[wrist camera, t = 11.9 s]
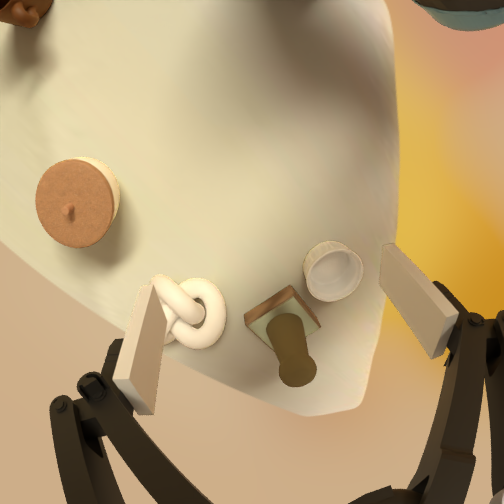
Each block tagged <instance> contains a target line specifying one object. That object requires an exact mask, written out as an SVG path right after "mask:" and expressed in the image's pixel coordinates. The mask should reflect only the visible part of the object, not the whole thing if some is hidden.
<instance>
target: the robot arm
mask: <svg viewBox="0 0 504 504" xmlns="http://www.w3.org/2000/svg"><path fill="white" fill-rule="evenodd" d="M412 1H413V2H414V3H416V4H417V5H418V6H420V7H422V8H423V9H424V10H425V11H427V12H428V13H429V14H430V15H431V16H432V17H433V18H434V19H435V20H436V21H437V22H438V23H440V24H441V25H444V26H447V27H448V28H451V29H454V30H460V31H479V30H486V29H490V28H493V27H496V26H499V25H501V24H503V23H504V0H412ZM379 285H380V286H381V288H382V289H383V290H384V292H385V293H386V295H387V296H388V297H389V299H390V300H391V301H392V303H393V304H394V306H395V307H396V308H397V310H398V311H399V313H400V314H401V315H402V317H403V318H404V320H405V321H406V323H407V324H408V326H409V327H410V328H411V330H412V331H413V333H414V334H415V336H416V337H417V339H418V340H419V342H420V343H421V345H422V346H423V348H424V349H425V351H426V353H427V354H428V356H429V357H430V359H434V358H436V357H439V356H441V355H443V354H444V351H445V349H446V346H447V348H448V349H449V350H450V353H449V355H448V358H447V360H446V362H445V364H444V366H446V371H445V376H444V381H443V385H442V390H441V394H440V398H439V402H438V407H437V410H436V414H435V418H434V421H433V424H432V428H431V431H430V434H429V437H428V441H427V444H426V447H425V450H424V453H423V455H422V458H421V461H420V464H419V467H418V469H417V472H416V474H415V475H414V477H413V479H412V480H411V482H410V484H409V486H408V488H407V489H392V488H391V485H390V486H387V487H384V488H381V489H379V490H376V491H373V492H370V493H367V494H365V495H363V496H361V497H359V498H358V499H356V500H354V501H352V502H350V503H348V504H464V501H465V498H466V495H467V491H468V488H469V485H470V481H471V478H472V474H473V471H474V467H475V461H476V457H475V456H474V455H473V448H474V443H475V438H476V433H477V428H478V422H479V416H480V410H481V403H482V395H483V385H484V378H485V385H486V392H487V400H488V408H489V418H490V431H491V452H492V453H491V457H492V458H491V460H492V470H491V471H492V472H491V475H492V476H491V478H492V492H493V498H492V499H491V501H490V504H504V310H502V311H500V312H498V314H497V317H496V319H484V318H483V317H482V316H481V315H479V314H477V313H472V312H470V313H469V312H468V311H467V310H466V309H465V308H464V306H463V305H462V304H461V303H460V302H459V301H458V300H457V299H456V297H454V295H453V294H452V293H451V292H450V291H449V290H448V289H447V288H446V287H445V286H444V285H443V284H441V283H439V282H438V281H434V282H431V281H430V280H429V279H428V278H427V277H426V276H425V274H424V273H422V271H421V270H420V269H419V268H418V267H417V266H416V265H415V264H414V263H413V262H412V261H411V260H410V259H409V258H408V257H407V256H406V255H405V254H404V253H403V252H402V251H401V250H400V249H399V248H398V247H397V246H396V245H395V244H394V243H392V244H386V245H383V247H382V258H381V268H380V278H379ZM167 322H168V321H167V319H166V316H165V313H164V311H163V308H162V306H161V303H160V300H159V298H158V295H157V292H156V290H155V287H154V284H150V285H144V286H141V287H140V290H139V293H138V296H137V299H136V302H135V305H134V308H133V311H132V314H131V317H130V320H129V324H128V327H127V330H126V333H125V337H124V338H123V339H115V340H114V341H113V343H112V344H111V345H110V346H109V350H108V353H107V356H106V359H105V363H104V365H103V368H102V372H101V374H100V373H98V372H89V373H87V374H85V375H83V376H82V377H81V378H80V380H79V381H78V383H77V390H78V392H79V393H80V395H81V396H82V397H83V398H81V399H77V400H74V401H72V400H71V398H69V397H68V396H66V395H62V396H58V397H56V398H55V399H54V400H53V401H52V403H51V405H50V410H49V411H50V420H51V428H52V435H53V441H54V447H55V453H56V458H57V464H58V468H59V473H60V477H61V482H62V485H63V490H64V494H65V497H66V501H67V504H125V502H124V500H123V497H122V495H121V492H120V490H119V487H118V485H117V482H116V479H115V477H114V474H113V471H112V469H111V465H110V463H109V460H108V457H107V454H106V450H105V447H104V445H103V441H102V436H106V435H107V436H108V438H109V439H110V441H111V442H112V444H113V445H114V447H115V448H116V450H117V451H118V453H119V454H120V456H121V457H122V458H123V460H124V461H125V463H126V464H127V465H128V467H129V468H130V469H131V471H132V472H133V473H134V475H135V476H136V477H137V478H138V480H139V481H140V483H141V484H142V485H143V486H144V487H145V489H146V490H147V491H148V492H149V494H150V495H151V496H152V497H153V498H154V499H155V501H156V502H157V503H158V504H213V503H212V502H211V501H210V500H209V499H208V498H207V497H206V496H204V495H203V494H202V493H201V492H200V491H199V490H198V489H197V488H196V487H195V486H194V485H193V484H192V483H191V482H190V481H189V480H188V479H187V478H186V477H185V476H184V475H183V474H182V473H181V472H180V471H179V470H178V469H177V468H176V467H175V466H174V464H173V463H172V462H171V461H170V460H169V459H168V458H167V457H166V456H165V455H164V453H163V452H162V451H161V450H160V449H159V448H158V447H157V445H156V444H155V443H154V442H153V441H152V440H151V438H150V437H149V436H148V435H147V434H146V432H145V431H144V430H143V429H142V427H141V426H140V425H139V424H138V422H137V421H136V420H135V418H134V417H133V411H134V410H135V411H136V412H137V414H138V415H154V410H155V401H156V394H157V386H158V379H159V372H160V365H161V358H162V352H163V346H164V339H165V333H166V327H167Z"/></svg>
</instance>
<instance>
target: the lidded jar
mask: <svg viewBox="0 0 504 504" xmlns="http://www.w3.org/2000/svg"><path fill="white" fill-rule="evenodd" d="M119 202H120V190H119V185H118V182H117V179H116V177H115V175H114V174H113V172H112V171H111V170H110V168H109V167H108V166H106V165H105V164H104V163H102V162H101V161H99V160H97V159H94V158H89V157H77V158H71V159H68V160H64V161H61V162H58V163H56V164H55V165H53V166H51V167H50V168H49V169H48V170H47V171H46V172H45V173H44V174H43V176H42V178H41V179H40V181H39V184H38V187H37V191H36V210H37V214H38V217H39V220H40V222H41V224H42V226H43V227H44V229H45V230H46V232H47V233H48V234H49V235H50V236H51V237H52V238H53V239H54V240H56V241H58V242H59V243H61V244H63V245H65V246H69V247H74V248H83V247H88V246H90V245H93V244H94V243H96V242H98V241H99V240H100V239H101V238H102V237H103V236H104V235H105V233H106V232H107V231H108V229H109V227H110V225H111V223H112V222H113V220H114V218H115V216H116V213H117V211H118V207H119Z"/></svg>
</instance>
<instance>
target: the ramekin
mask: <svg viewBox="0 0 504 504" xmlns="http://www.w3.org/2000/svg"><path fill="white" fill-rule="evenodd" d="M303 272H304V276H305V278H306V284H307V288H308V290H309V292H310V293H311V295H312V296H313V297H315V298H316V299H318V300H320V301H325V302H334V301H338V300H341V299H343V298H345V297H347V296H348V295H350V294H351V293H352V292H353V291H354V290H355V289H356V288H357V286H358V285H359V283H360V281H361V279H362V276H363V263H362V261H361V259H360V257H359V256H358V255H357V254H356V253H355V252H353V251H351V250H350V249H349V248H348V247H346V246H345V245H344V244H342V243H340V242H337V241H325V242H322V243H320V244H318V245H316V246H315V247H313V248H312V249H311V250H310V251H309V253H308V254H307V256H306V258H305V260H304V264H303Z"/></svg>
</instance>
